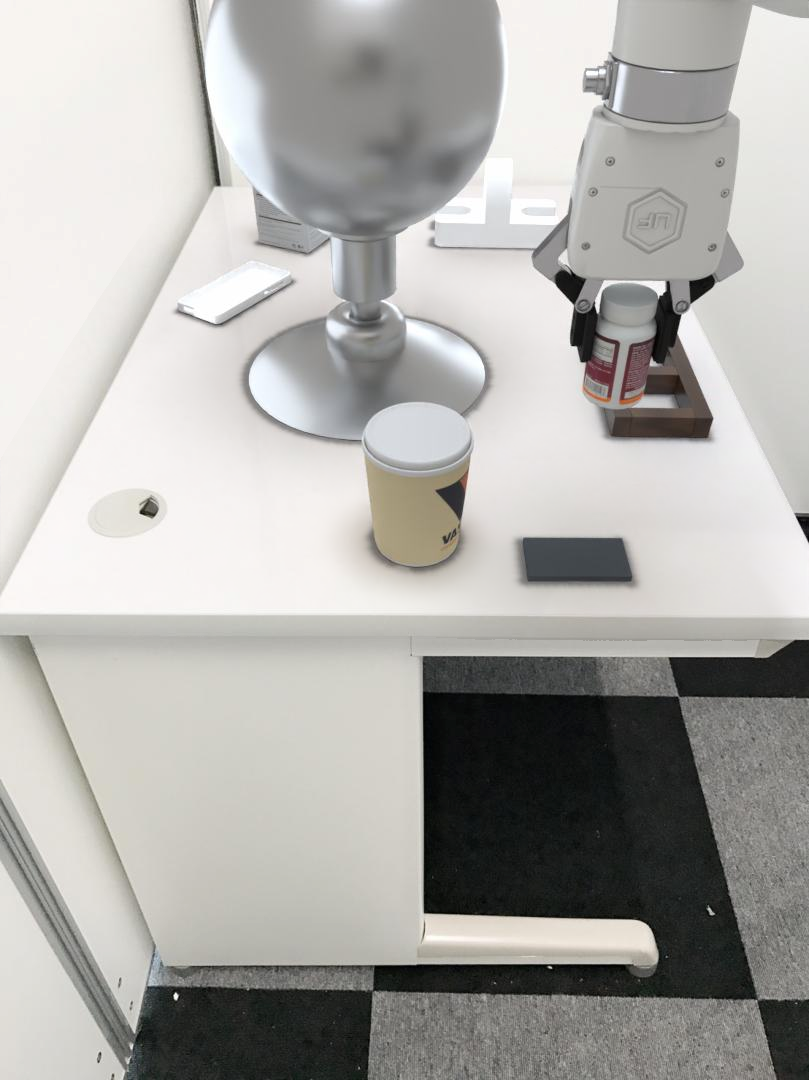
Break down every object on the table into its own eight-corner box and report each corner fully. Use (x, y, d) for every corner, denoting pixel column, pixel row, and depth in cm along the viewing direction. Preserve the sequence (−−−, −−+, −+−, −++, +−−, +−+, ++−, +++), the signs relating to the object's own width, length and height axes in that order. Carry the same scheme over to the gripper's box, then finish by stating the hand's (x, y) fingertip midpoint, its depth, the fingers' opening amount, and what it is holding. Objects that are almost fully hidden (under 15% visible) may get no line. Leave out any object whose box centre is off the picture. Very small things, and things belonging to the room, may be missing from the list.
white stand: (435, 220, 132) (437, 148, 125) (551, 222, 132) (559, 150, 125) (434, 246, 125) (436, 171, 118) (556, 248, 125) (566, 173, 118)
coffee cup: (461, 579, 74) (467, 470, 66) (356, 567, 75) (350, 458, 67) (472, 511, 81) (480, 404, 73) (376, 501, 82) (373, 395, 74)
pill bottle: (639, 379, 68) (660, 280, 62) (645, 412, 65) (668, 311, 59) (579, 376, 69) (594, 278, 63) (582, 409, 65) (598, 308, 59)
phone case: (253, 268, 120) (176, 310, 111) (252, 259, 119) (174, 300, 110) (293, 281, 117) (218, 325, 108) (292, 272, 116) (216, 316, 107)
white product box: (289, 221, 132) (280, 118, 122) (339, 232, 129) (334, 127, 119) (256, 243, 126) (243, 136, 116) (308, 254, 123) (299, 146, 113)
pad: (621, 542, 78) (622, 537, 77) (631, 581, 74) (632, 576, 74) (522, 542, 78) (523, 537, 77) (528, 580, 74) (528, 575, 74)
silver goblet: (533, 372, 100) (590, -110, 69) (359, 473, 85) (334, -77, 55) (373, 294, 114) (362, -132, 84) (201, 370, 100) (113, -111, 69)
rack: (671, 348, 104) (676, 329, 102) (708, 437, 90) (713, 417, 88) (587, 347, 104) (590, 328, 102) (611, 436, 90) (615, 416, 88)
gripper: (533, 107, 49) (509, 379, 62) (829, 108, 49) (745, 382, 61) (524, 73, 55) (503, 328, 67) (790, 73, 54) (720, 331, 67)
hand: (619, 351), depth 64 cm, fingers closed on pill bottle, 4 cm apart
